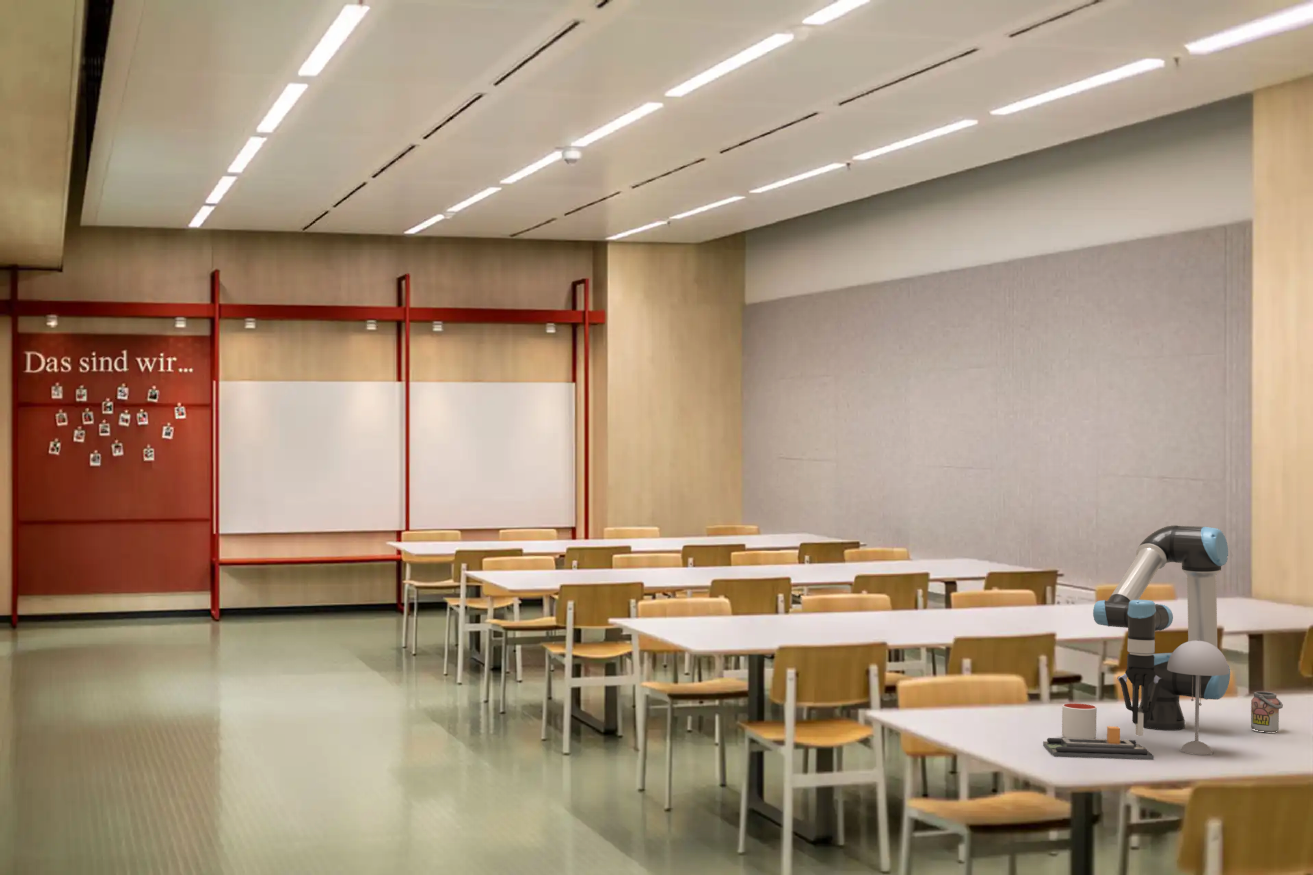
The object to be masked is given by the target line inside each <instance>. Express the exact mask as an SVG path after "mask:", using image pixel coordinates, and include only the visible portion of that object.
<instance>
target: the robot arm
mask: <svg viewBox="0 0 1313 875" xmlns="http://www.w3.org/2000/svg"><path fill="white" fill-rule="evenodd" d="M1135 555H1136V556H1135V558H1134V559H1133V561H1132V563H1131V564H1130V566H1129V567H1128V569H1127V570H1126V572H1125V574H1124V575H1123V577H1122V578H1121V580H1120V581H1119V583H1118V584H1117V585H1116V588H1115V589H1114V590H1113V592H1112V594H1111V595H1110V596H1109V598H1108V599H1107V600H1106V599H1103V600H1097V601H1096V602H1095V604H1094V606H1093V609H1092V610H1093V611H1092V616H1093V620H1094V622H1095V624H1096V625H1100V626H1106V627H1109V628H1110V627H1114V628H1124V629H1125V628H1127V652H1128V654H1127V655H1126V656H1127V657H1126V659H1127V660H1126V670H1125V672H1124V674H1123V675H1121V676H1120V675H1119V676H1117V681H1118V682H1119V684H1120V686H1121V692H1122V695H1123V700H1124V704H1125V709H1127V710H1128V711H1130V712H1132V713H1131V714H1132V716H1131V717H1132V724H1135V735H1136V736H1138V737H1140V736H1141V737H1144V728H1145V729H1150V730H1151V729H1153V730H1160V731H1161V730H1163V731H1177V730H1182V729H1185V727H1186V724H1185V723H1186V720H1185V717H1184V714H1183V710H1182V707H1181V704H1180V696H1181V697H1189V698H1192V686H1193V698H1195V696H1196V675H1189V674H1181V673H1175V672H1171V671H1169V670H1167V665H1168V661H1169V658H1170V656H1171V654H1172V653H1173V652H1162V653H1161V652H1160V653H1155V650H1156V648H1155V645H1156V642H1155V641H1156V637H1155V636H1156V632H1157V631H1159V632H1160V631H1164V630H1166V629H1167V628H1169V627H1170V626H1171V625H1172V623H1173V621H1174V615H1173V614H1174V613H1173V612H1172V610H1171V608H1169V607H1168V606H1167V605H1165V604H1161V603H1160V604H1159V603H1155V602H1154V601H1153V600H1149V599H1141V597H1142V596H1143V594H1144V592H1145V591H1146V589H1147V588H1148V586H1149V584H1151V582H1152V580H1153V578H1154V577H1155V575H1156V574H1157V572H1158V570H1160V569H1162V568H1164V567H1165V565H1166V564H1168V563H1179V564H1181V571H1182V572H1183V573H1185V574H1186V584H1187V585H1186V587H1187V589H1186V590H1187V595H1186V596H1187V597H1186V598H1187V631H1188V632H1187V635H1188V636H1187V638H1188V639H1187V642H1189V641H1197V639H1200V641H1204V642H1208V643H1210V644H1212V645H1214V646H1215V647H1216V648H1218V613H1217V612H1218V608H1217V607H1218V606H1217V605H1218V604H1217V603H1218V602H1217V601H1218V600H1217V575H1218V574H1219V573H1220V572H1221V571H1222V566H1225V565H1226V564H1227V562H1228V556H1229V546H1228V542H1227V537H1226V535H1225V534H1224V533H1223V531H1222V530H1221V529H1219V528H1217V527H1211V526H1210V527H1209V526H1197V525H1196V526H1192V525H1191V526H1189V525H1184V526H1183V525H1167V526H1164V527H1162V528H1159V529H1157V530H1155V531H1154V532H1152V533H1151V534H1149V535H1148V536H1147V537H1146V538H1145V539H1144V540H1142V541H1141V543H1140V544H1139V546H1138V547H1137V549H1136V552H1135ZM1228 668H1229V674H1227V675H1219V676H1203V675H1201V681H1200V680H1199V699H1200V683H1201V699H1204V700H1220V699H1222V698H1223V696H1224V695H1225V694H1226V693H1227V690H1228V688H1229V686H1230V685H1229V684H1230V679H1231V669H1230V665H1229V664H1228ZM1192 678H1193V684H1192ZM1128 680H1129V682H1130V683H1131V684H1132V685H1131V687H1132V699H1131V697H1130V693H1129V687H1128V684H1127V683H1128ZM1140 687H1141V688H1140ZM1140 692H1141V693H1140ZM1140 694H1141V695H1140ZM1139 699H1140V700H1139ZM1131 700H1132V702H1131ZM1139 701H1140V702H1139Z"/></svg>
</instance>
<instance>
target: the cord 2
mask: <svg viewBox="0 0 1313 875" xmlns="http://www.w3.org/2000/svg"><path fill="white" fill-rule="evenodd" d="M1147 750H1148V749H1120V748H1087V747H1056V751H1058V752H1088V753H1121V754H1148V751H1149V750H1148V751H1147Z"/></svg>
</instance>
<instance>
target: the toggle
mask: <svg viewBox="0 0 1313 875" xmlns="http://www.w3.org/2000/svg"><path fill="white" fill-rule="evenodd" d="M1106 739H1107V741H1105V743H1118V744H1121V743H1120V740H1121V728H1120V727H1119V726H1113V725H1112V726H1110V725H1109V726H1108V725H1107V726H1106Z"/></svg>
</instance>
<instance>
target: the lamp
mask: <svg viewBox="0 0 1313 875" xmlns="http://www.w3.org/2000/svg"><path fill="white" fill-rule="evenodd" d="M1171 653H1172V654H1171V656H1170V658H1169V661H1168V665H1167V670H1169V671H1171V672H1175V673H1181V674H1189V675H1196V696H1195V697H1193V686H1192V697H1191V699H1190V700H1191V702H1194V701H1195V702H1194V703H1195V704H1194V706H1195V710H1194V714H1195V715H1194V740H1192V741H1188V742H1186V743H1184V744H1183V745H1182V746H1181V747H1180V749H1179V751H1180V752H1181V753H1185V754H1189V755H1190V754H1191V755H1198V756H1199V755H1200V756H1206V755H1213V754H1214V751H1213V749H1211V747H1210V746H1209V745H1208V744H1206V743H1205V742H1203V741H1199V738H1200V737H1199V736H1200V735H1199V731H1200V730H1199V729H1200V727H1199V726H1200V725H1199V724H1200V722H1199V721H1200V706H1202V703H1201V702H1200V701H1201V700H1202V698H1201V683H1200V698H1199V680H1200V681H1201V675H1203V676H1219V675H1227V674H1229V669H1230V667H1229V668H1228V665H1229V664H1228V661H1227V659H1226V656H1225V655H1224V654H1223V652H1222V650H1220V649H1219V648H1218V647H1217V648H1216V647H1215V646H1214V645H1212V644H1210V643H1208V642H1204V641H1200V639H1197V641H1189V642H1188V641H1186V642H1183V643H1182V644H1180V645H1179V646H1177V647H1176V648H1175V649H1174V650H1173V652H1171ZM1192 684H1193V678H1192ZM1194 698H1195V699H1194ZM1212 753H1213V754H1212Z"/></svg>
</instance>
